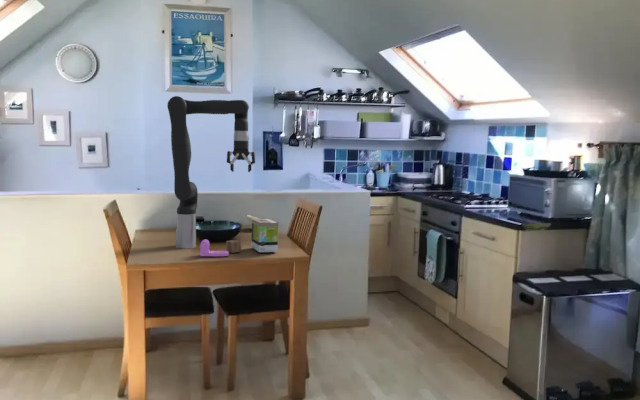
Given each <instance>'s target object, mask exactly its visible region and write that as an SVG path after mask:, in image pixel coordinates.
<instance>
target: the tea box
mask: <svg viewBox="0 0 640 400" xmlns="http://www.w3.org/2000/svg"><path fill="white" fill-rule="evenodd" d="M278 243H279V222H278V221H276V220H273V219H270V218H259V219H252V229H251V248H252V249H254V251H257V252H258V253H275V252H278V246H279V244H278Z"/></svg>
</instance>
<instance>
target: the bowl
mask: <svg viewBox="0 0 640 400" xmlns="http://www.w3.org/2000/svg"><path fill="white" fill-rule="evenodd" d="M246 218H247V220H248V227H249V229H250V230H252V219H260V218H259V217H256V216H253V215H250V214H247V215H246Z"/></svg>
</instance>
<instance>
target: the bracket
mask: <svg viewBox="0 0 640 400" xmlns="http://www.w3.org/2000/svg"><path fill="white" fill-rule="evenodd" d="M199 251H200V252H199V253H200V254H199V255H200V257H227V256H229V255H230V252H228V251H226V250H210V241H209V240H208V239H202V240H201V243H200V249H199Z"/></svg>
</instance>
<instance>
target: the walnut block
mask: <svg viewBox="0 0 640 400" xmlns="http://www.w3.org/2000/svg"><path fill="white" fill-rule="evenodd" d="M241 243H242V241H240V240H238V239H232V240H226V241H225V246H226V247H225V251H228V252H229V253H233V254H234V253H239V252H241V250H242V249H241V247H242V246H241Z"/></svg>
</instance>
